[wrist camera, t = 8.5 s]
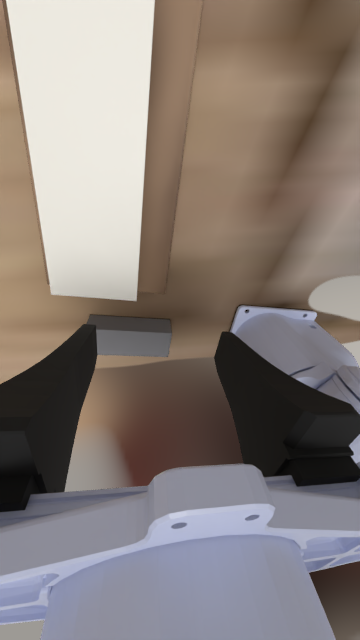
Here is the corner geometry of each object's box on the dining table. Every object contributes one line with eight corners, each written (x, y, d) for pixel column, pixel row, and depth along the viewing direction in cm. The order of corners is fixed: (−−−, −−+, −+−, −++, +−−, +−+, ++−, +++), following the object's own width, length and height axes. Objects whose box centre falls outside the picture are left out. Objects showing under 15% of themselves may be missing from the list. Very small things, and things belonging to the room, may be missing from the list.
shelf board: (137, 288, 16) (136, 301, 14) (61, 281, 15) (51, 294, 14) (157, -37, 9) (159, -86, 7) (16, -87, 8) (-18, -156, 6)
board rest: (169, 319, 24) (171, 333, 22) (166, 342, 26) (168, 356, 24) (90, 314, 23) (84, 328, 20) (91, 338, 24) (86, 354, 22)
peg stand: (200, -3, 13) (228, -94, 8) (164, 288, 22) (168, 316, 18) (1, -70, 11) (-93, -231, 7) (52, 278, 20) (27, 307, 16)
